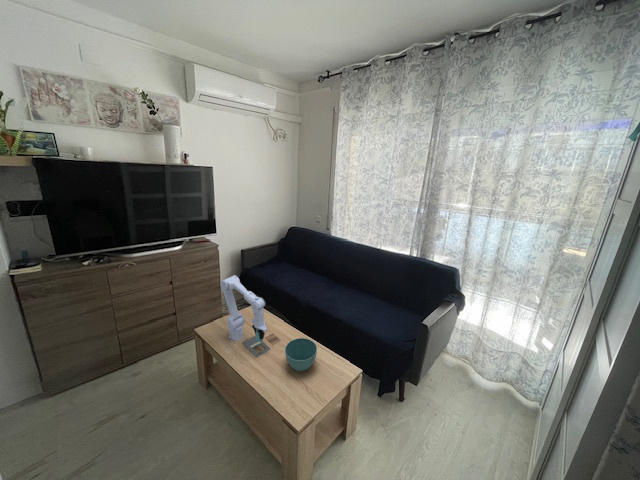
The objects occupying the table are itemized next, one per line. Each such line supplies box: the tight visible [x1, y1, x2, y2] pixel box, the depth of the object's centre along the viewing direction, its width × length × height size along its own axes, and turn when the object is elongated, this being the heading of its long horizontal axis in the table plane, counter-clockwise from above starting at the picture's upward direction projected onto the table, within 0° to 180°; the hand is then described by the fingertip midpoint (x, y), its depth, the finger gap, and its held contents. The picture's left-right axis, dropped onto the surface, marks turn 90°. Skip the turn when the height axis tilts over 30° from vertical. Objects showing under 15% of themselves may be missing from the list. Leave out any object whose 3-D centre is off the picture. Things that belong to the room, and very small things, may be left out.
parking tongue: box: [264, 333, 282, 347], centre depth 163 cm, size 10×7×2 cm
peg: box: [255, 328, 264, 342], centre depth 151 cm, size 4×4×8 cm
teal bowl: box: [284, 337, 318, 372], centre depth 142 cm, size 18×18×12 cm
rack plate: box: [241, 334, 271, 358], centre depth 156 cm, size 17×10×3 cm, turn 45°
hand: (259, 337), depth 152 cm, fingers closed on peg, 4 cm apart
